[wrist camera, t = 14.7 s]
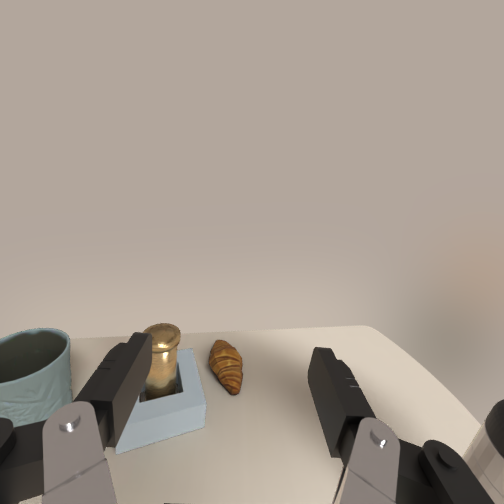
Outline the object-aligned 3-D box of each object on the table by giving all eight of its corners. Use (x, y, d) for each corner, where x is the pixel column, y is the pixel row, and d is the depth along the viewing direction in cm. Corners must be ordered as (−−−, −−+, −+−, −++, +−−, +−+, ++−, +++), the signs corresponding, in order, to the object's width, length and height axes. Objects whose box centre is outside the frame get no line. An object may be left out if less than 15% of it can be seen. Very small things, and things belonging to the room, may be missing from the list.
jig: (190, 368, 48) (192, 348, 46) (204, 427, 38) (206, 403, 36) (121, 382, 43) (120, 360, 41) (116, 454, 33) (114, 428, 31)
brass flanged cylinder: (175, 387, 44) (178, 321, 39) (179, 414, 39) (182, 343, 34) (142, 394, 41) (141, 326, 37) (142, 425, 37) (141, 350, 32)
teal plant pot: (74, 378, 43) (66, 320, 39) (82, 425, 36) (74, 361, 32) (-10, 408, 36) (-29, 342, 32) (-19, 474, 29) (-46, 400, 25)
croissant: (202, 348, 54) (203, 329, 52) (231, 344, 56) (233, 326, 55) (216, 402, 42) (218, 380, 40) (252, 394, 45) (255, 373, 43)
